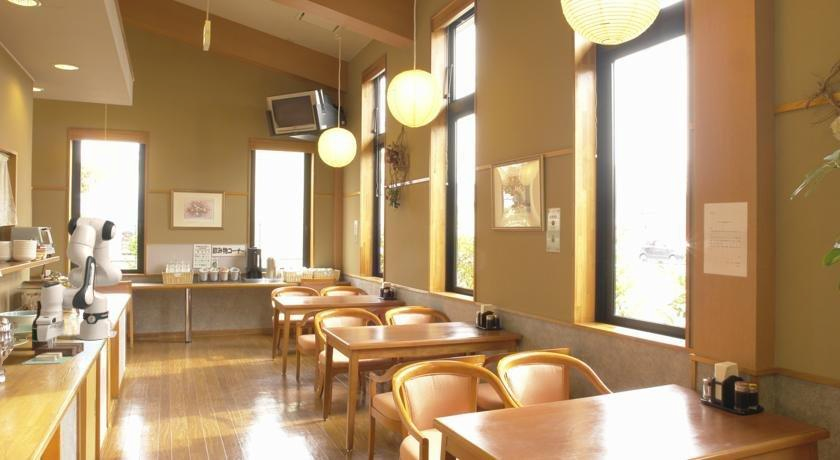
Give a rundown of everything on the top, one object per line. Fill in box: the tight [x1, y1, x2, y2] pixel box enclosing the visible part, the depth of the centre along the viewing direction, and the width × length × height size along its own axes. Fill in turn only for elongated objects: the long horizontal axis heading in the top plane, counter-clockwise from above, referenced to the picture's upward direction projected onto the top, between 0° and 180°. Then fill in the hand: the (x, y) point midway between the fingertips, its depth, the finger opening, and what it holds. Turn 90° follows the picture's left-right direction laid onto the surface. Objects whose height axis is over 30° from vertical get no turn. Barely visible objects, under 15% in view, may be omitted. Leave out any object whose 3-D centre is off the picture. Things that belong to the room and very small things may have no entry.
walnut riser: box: [34, 342, 85, 358], centre depth 282 cm, size 14×16×4 cm
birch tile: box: [34, 352, 62, 361], centre depth 271 cm, size 8×8×2 cm
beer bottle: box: [31, 300, 48, 351], centre depth 293 cm, size 8×8×24 cm
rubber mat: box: [21, 357, 72, 366], centre depth 269 cm, size 12×16×1 cm
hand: (51, 347), depth 273 cm, fingers closed
